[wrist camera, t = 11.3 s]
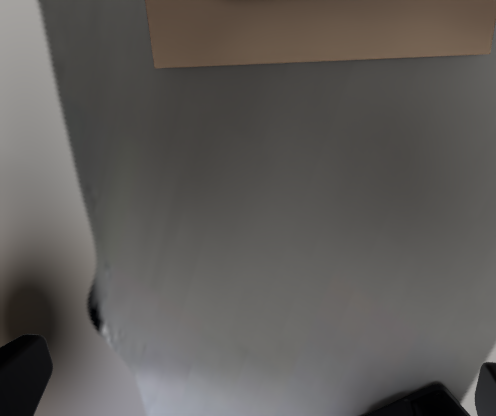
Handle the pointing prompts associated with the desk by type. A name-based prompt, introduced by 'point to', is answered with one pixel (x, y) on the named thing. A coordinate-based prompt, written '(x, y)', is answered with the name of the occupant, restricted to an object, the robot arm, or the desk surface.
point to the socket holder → (314, 30)
